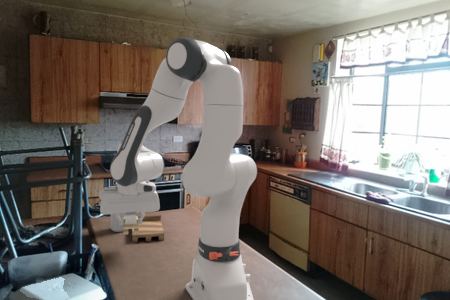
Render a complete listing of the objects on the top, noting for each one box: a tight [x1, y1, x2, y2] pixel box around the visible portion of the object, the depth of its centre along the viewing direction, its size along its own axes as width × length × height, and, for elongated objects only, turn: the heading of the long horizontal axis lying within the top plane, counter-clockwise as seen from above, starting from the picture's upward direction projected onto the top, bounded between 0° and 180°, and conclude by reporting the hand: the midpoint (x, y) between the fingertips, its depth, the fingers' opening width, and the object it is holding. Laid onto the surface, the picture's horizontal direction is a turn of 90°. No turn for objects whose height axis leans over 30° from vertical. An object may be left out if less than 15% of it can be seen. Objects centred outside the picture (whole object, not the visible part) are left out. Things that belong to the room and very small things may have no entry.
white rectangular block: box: [125, 212, 137, 224], centre depth 117 cm, size 7×4×3 cm, turn 16°
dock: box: [131, 214, 165, 243], centre depth 135 cm, size 16×12×5 cm
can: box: [109, 213, 125, 233], centre depth 139 cm, size 8×8×12 cm
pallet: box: [122, 215, 139, 235], centre depth 118 cm, size 10×5×3 cm, turn 16°
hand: (130, 224), depth 118 cm, fingers closed on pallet, 5 cm apart
